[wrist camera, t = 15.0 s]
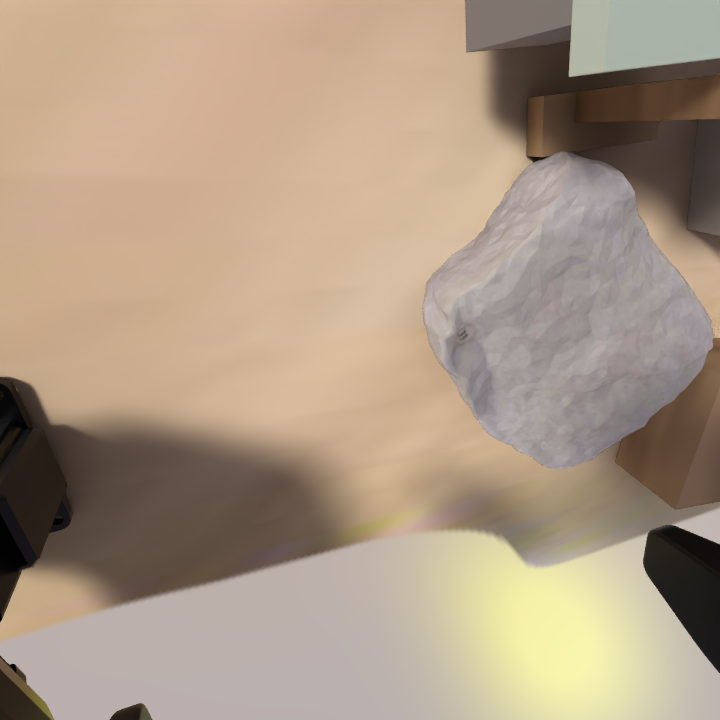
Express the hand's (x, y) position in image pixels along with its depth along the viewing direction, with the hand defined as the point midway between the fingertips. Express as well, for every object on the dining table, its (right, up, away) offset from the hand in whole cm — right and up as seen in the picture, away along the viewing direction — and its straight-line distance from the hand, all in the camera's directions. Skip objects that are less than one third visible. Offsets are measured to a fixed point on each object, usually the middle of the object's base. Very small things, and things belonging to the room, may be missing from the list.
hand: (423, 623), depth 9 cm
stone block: (+7, +6, +15) cm, 17 cm away
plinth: (+16, +2, +19) cm, 25 cm away
